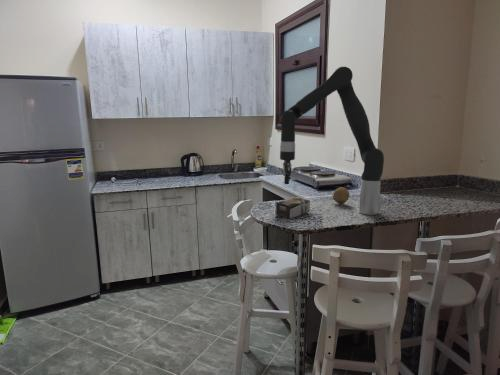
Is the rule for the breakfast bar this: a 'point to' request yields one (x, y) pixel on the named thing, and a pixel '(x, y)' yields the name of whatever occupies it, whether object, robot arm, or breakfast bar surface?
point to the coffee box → (292, 207)
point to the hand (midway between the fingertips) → (286, 183)
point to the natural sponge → (341, 195)
